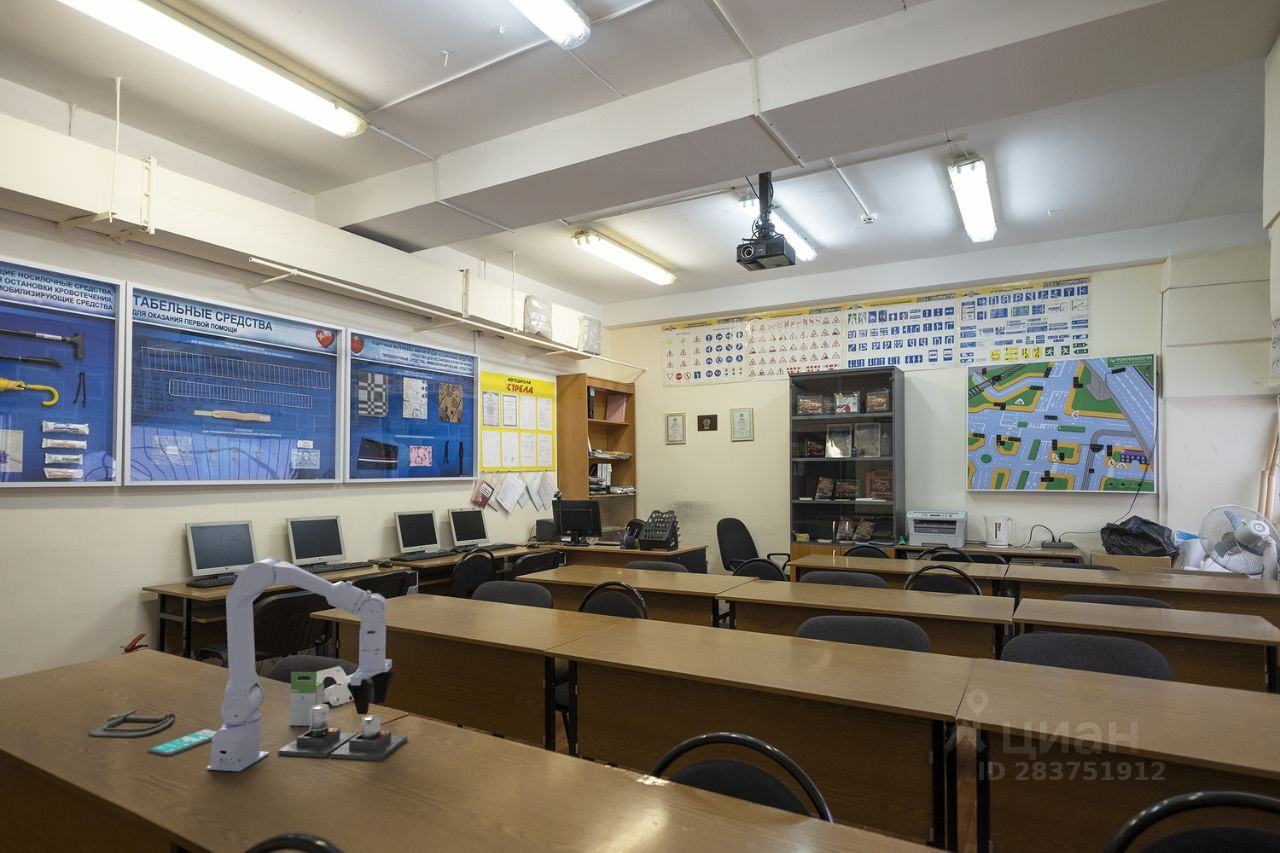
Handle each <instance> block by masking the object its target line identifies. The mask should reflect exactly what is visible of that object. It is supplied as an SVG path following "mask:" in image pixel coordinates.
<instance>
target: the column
mask: <svg viewBox="0 0 1280 853" xmlns="http://www.w3.org/2000/svg"><path fill="white" fill-rule="evenodd" d="M360 729H361V730H360V731H361V732H360V733H361V740H376V739H377V738H379V734H380V730H381V715H380V714H379V715H378V714H369V715H365V716H363V717H361V728H360Z"/></svg>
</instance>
